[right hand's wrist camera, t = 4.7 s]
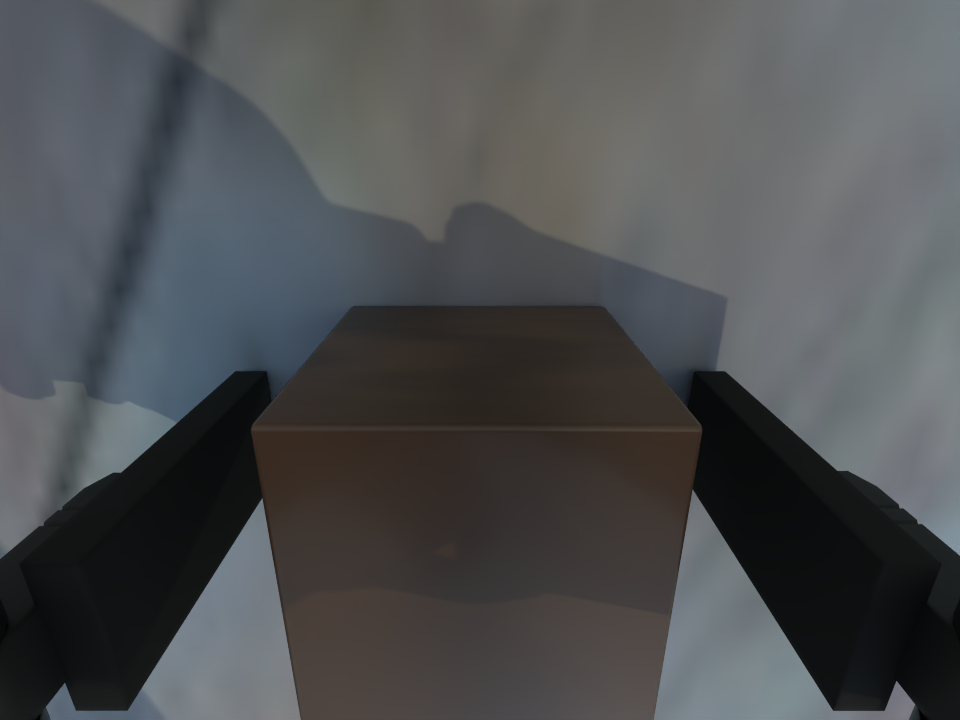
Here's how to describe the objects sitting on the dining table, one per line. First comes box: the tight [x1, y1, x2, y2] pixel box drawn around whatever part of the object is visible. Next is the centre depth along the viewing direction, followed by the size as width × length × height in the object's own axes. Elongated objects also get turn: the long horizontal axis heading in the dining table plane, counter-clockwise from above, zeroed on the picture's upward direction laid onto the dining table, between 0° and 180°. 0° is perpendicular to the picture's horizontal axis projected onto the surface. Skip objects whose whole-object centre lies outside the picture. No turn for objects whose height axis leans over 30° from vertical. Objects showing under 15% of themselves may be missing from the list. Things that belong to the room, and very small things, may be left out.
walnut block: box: [251, 306, 702, 720], centre depth 11 cm, size 6×6×6 cm
